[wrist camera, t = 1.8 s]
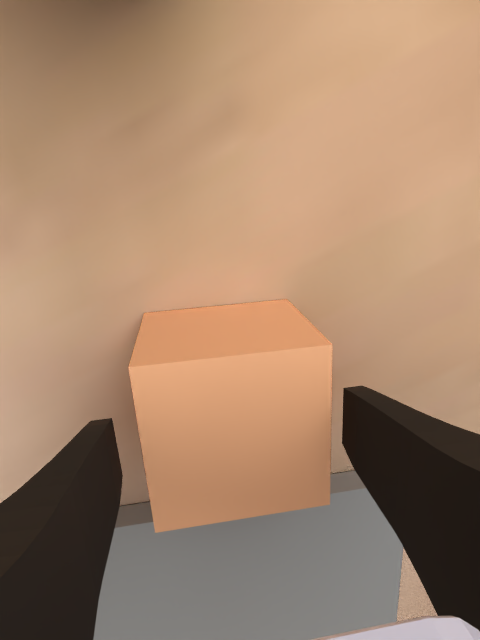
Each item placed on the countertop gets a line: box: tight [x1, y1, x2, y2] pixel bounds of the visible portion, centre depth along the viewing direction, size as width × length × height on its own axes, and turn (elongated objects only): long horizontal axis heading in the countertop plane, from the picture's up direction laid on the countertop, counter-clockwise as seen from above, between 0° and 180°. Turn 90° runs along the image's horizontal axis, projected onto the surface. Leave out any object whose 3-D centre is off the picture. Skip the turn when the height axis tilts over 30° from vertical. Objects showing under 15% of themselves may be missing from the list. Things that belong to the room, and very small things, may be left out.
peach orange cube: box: [128, 299, 332, 533], centre depth 14 cm, size 6×6×5 cm
